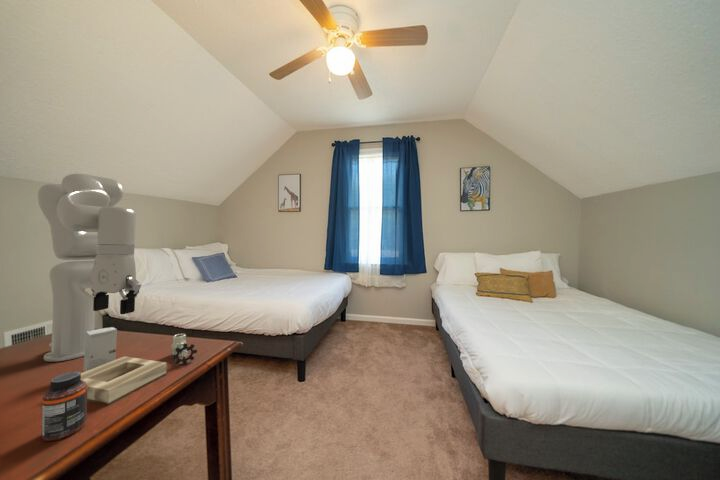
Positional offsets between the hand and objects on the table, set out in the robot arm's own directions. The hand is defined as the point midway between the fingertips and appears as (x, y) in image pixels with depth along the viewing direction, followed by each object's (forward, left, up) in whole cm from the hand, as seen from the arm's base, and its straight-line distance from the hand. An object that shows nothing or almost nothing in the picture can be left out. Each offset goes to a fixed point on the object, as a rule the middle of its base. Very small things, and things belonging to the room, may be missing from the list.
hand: (113, 311), depth 69 cm
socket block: (+4, -1, -19) cm, 20 cm away
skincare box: (-9, +3, -20) cm, 22 cm away
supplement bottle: (+13, -16, -20) cm, 28 cm away
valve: (+7, +15, -20) cm, 26 cm away
